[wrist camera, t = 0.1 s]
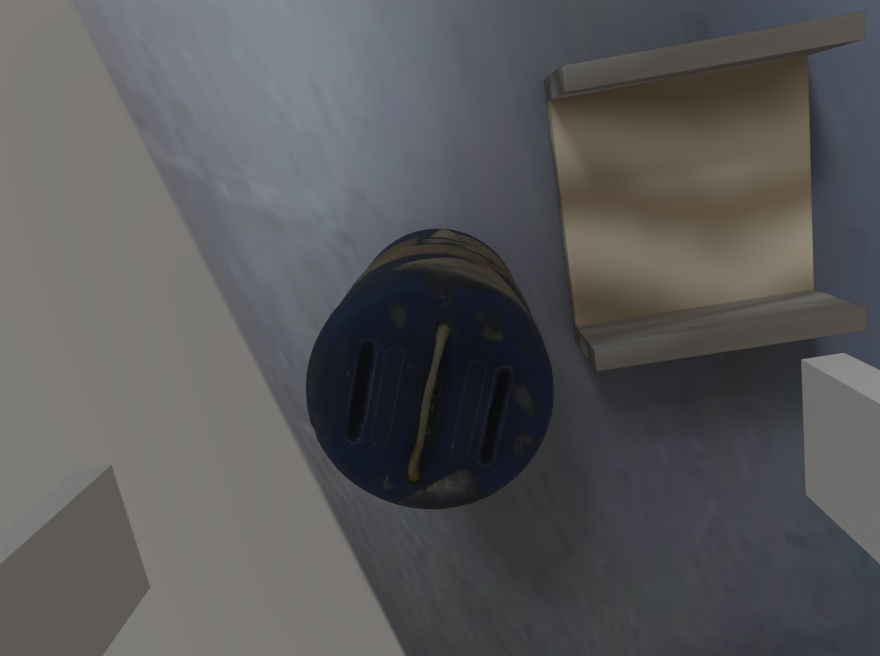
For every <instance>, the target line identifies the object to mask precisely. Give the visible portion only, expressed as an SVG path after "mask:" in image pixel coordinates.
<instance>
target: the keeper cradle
mask: <svg viewBox="0 0 880 656" xmlns="http://www.w3.org/2000/svg"><path fill="white" fill-rule="evenodd" d="M863 39H865V11H863V12H857V13H852V14H846V15H841V16H835V17H829V18H824V19H818V20H813V21H807V22H802V23H796V24H790V25H785V26H779V27H774V28H768V29H763V30H757V31H751V32H746V33H740V34H735V35H729V36H723V37H718V38H712V39H707V40H701V41H696V42H690V43H684V44H679V45H673V46H668V47H662V48H657V49H651V50H645V51H640V52H634V53H629V54H623V55H617V56H612V57H606V58H601V59H595V60H590V61H584V62H578V63H573V64H567V65H562V66H561V67H559V68H558V69H557V70H556V71H555V72H553V73H552V74H551V75H550V76H549V77H547V78H546V79H545V80H544V83H545V92H546V100H547V108H548V117H549V125H550V133H551V141H552V150H553V158H554V166H555V175H556V183H557V191H558V200H559V208H560V216H561V224H562V233H563V241H564V249H565V258H566V266H567V274H568V283H569V291H570V299H571V308H572V316H573V324H574V332H575V341H576V342H577V344H578V345H579V347H580V348H581V350H582V351H583V352H584V354H585V355H586V357H587V358H588V360H589V361H590V363H591V364H592V365H593V367H594V368H595V370H596V371H603V370H610V369H616V368H623V367H629V366H636V365H642V364H649V363H656V362H662V361H669V360H675V359H682V358H688V357H695V356H701V355H708V354H714V353H721V352H727V351H734V350H740V349H747V348H753V347H760V346H767V345H773V344H780V343H786V342H793V341H799V340H806V339H812V338H819V337H825V336H832V335H838V334H845V333H851V332H858V331H865V330H866V308H865V307H862V306H860V305H857V304H854V303H851V302H848V301H846V300H843V299H840V298H837V297H834V296H832V295H829V294H826V293H823V292H821V291H818V290H815V289H814V276H813V237H812V198H811V159H810V120H809V82H808V55H811V54H814V53H818V52H821V51H825V50H828V49H831V48H835V47H838V46H842V45H845V44H849V43H852V42H856V41H859V40H863Z"/></svg>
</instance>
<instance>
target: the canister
mask: <svg viewBox="0 0 880 656" xmlns="http://www.w3.org/2000/svg"><path fill="white" fill-rule="evenodd" d="M306 396H307V408H308V413H309V417H310V421H311V424H312V426H313V428H314V429H315V433H316V436H317V439H318V441H319V443H320V445H321V447H322V449H323V450H324V452H325V453H326V455H327V456H328V458H329V459H330V460H331V461H332V463H333V464H334V465H335V466H336V468H337V469H338V470H339V471H340V472H341V473H342V474H343V475H344V476H345V477H347V478H348V479H349V480H350V481H352V482H353V483H354V484H355V485H357V486H358V487H360V488H362V489H363V490H365V491H367V492H368V493H370V494H372V495H374V496H376V497H378V498H380V499H383V500H385V501H388V502H391V503H394V504H398V505H402V506H406V507H412V508H419V509H446V508H452V507H458V506H462V505H466V504H470V503H473V502H476V501H478V500H481V499H483V498H486V497H488V496H490V495H492V494H493V493H495V492H497V491H498V490H499V489H501V488H502V487H504V486H505V485H507V484H508V483H509V482H510V481H511V480H513V479H514V478H515V477H516V476H517V475H518V474H519V473H520V472H521V471H522V470H523V469H524V468H525V467H526V466H527V465H528V463H529V462H530V460H531V459H532V458H533V456H534V455H535V453H536V452H537V450H538V448H539V446H540V444H541V442H542V440H543V438H544V436H545V433H546V431H547V428H548V425H549V422H550V418H551V413H552V407H553V376H552V369H551V364H550V361H549V357H548V354H547V351H546V348H545V346H544V343H543V340H542V338H541V335H540V333H539V331H538V329H537V327H536V324H535V322H534V320H533V318H532V315H531V313H530V311H529V308H528V306H527V304H526V301H525V299H524V297H523V295H522V293H521V292H520V290H519V289H518V287H517V286H516V284H515V282H514V279H513V277H512V275H511V274H510V272H509V270H508V268H507V267H506V265H505V264H504V262H503V261H502V260H501V259H500V257H499V256H498V255H497V254H496V253H495V252H494V251H493V250H492V249H491V248H490V247H488V246H487V245H486V244H484V243H483V242H481V241H480V240H478V239H476V238H474V237H472V236H470V235H468V234H465V233H461V232H458V231H454V230H448V229H428V230H422V231H417V232H414V233H411V234H408V235H406V236H404V237H402V238H400V239H398V240H396V241H394V242H393V243H391V244H390V245H389V246H387V247H386V248H385V249H384V250H383V251H382V252H381V253H380V254H379V255H378V256H377V257H376V258H375V259H374V260H373V262H372V263H371V264H370V266H369V267H368V268H367V270H366V271H365V272H364V273H363V274H362V275H361V276H360V277H359V279H358V280H357V281H356V282H355V283H354V285H353V286H352V288H351V289H350V291H349V292H348V293H347V295H346V296H345V297H344V299H343V300H342V302H341V303H340V305H339V306H338V307H337V308H336V309H335V310H334V311H333V313H332V314H331V315H330V317H329V319H328V320H327V322H326V323H325V325H324V327H323V328H322V330H321V332H320V334H319V336H318V338H317V340H316V342H315V345H314V347H313V350H312V353H311V356H310V360H309V365H308V370H307V379H306Z"/></svg>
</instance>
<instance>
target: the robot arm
mask: <svg viewBox="0 0 880 656" xmlns="http://www.w3.org/2000/svg"><path fill="white" fill-rule="evenodd" d="M801 368H802V397H803V425H804V453H805V482H806V495H807V496H808V497H809V498H810V499H811V500H812V501H813V502H814V503H815V504H816V505H817V506H819V507H820V508H821V509H822V510H823V511H824V512H825V513H826V514H827V515H828V516H829V517H830V518H831V519H832V520H833V521H835V522H836V523H837V524H838V525H839V526H840V527H841V528H842V529H843V530H844V531H845V532H846V533H847V534H848V535H850V536H851V537H852V538H853V539H854V540H855V541H856V542H857V543H858V544H859V545H860V546H861V547H862V548H863V549H864V550H866V551H867V552H868V553H869V554H870V555H871V556H872V557H873V558H874V559H875V560H876V561H877V562H878V563H879V564H880V370H878V369H876V368H874V367H872V366H870V365H868V364H866V363H864V362H862V361H860V360H858V359H856V358H854V357H851V356H849V355H847V354H845V353H840V354H834V355H827V356H820V357H814V358H807V359H801ZM149 588H150V585H149V582H148V579H147V576H146V573H145V569H144V566H143V563H142V560H141V557H140V554H139V550H138V547H137V544H136V541H135V538H134V535H133V532H132V528H131V525H130V522H129V519H128V516H127V512H126V509H125V507H124V503H123V500H122V497H121V494H120V490H119V487H118V485H117V481H116V478H115V475H114V472H113V469H112V465H106V466H99V467H93V468H86V469H80V470H74V471H72V472H71V473H70V474H69V475H67V476H66V477H65V478H64V479H63V480H61V481H60V482H59V483H58V484H56V485H55V486H54V487H53V488H51V489H50V490H49V491H48V492H47V493H45V494H44V495H43V496H42V497H41V498H39V499H38V500H37V501H36V502H34V503H33V504H32V505H31V506H30V507H28V508H27V509H26V510H25V511H23V512H22V513H21V514H20V515H19V516H17V517H16V518H15V519H14V520H12V521H11V522H10V523H9V524H8V525H6V526H5V527H4V528H3V529H2V530H0V656H102V655H103V654H104V652H105V651H106V650H107V648H108V647H109V645H110V644H111V642H112V641H113V640H114V638H115V636H116V635H117V634H118V632H119V631H120V630H121V628H122V627H123V625H124V624H125V623H126V621H127V619H128V618H129V617H130V615H131V614H132V613H133V611H134V610H135V608H136V607H137V605H138V604H139V602H140V601H141V600H142V598H143V597H144V596H145V594H146V593H147V591H148V590H149Z"/></svg>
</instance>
